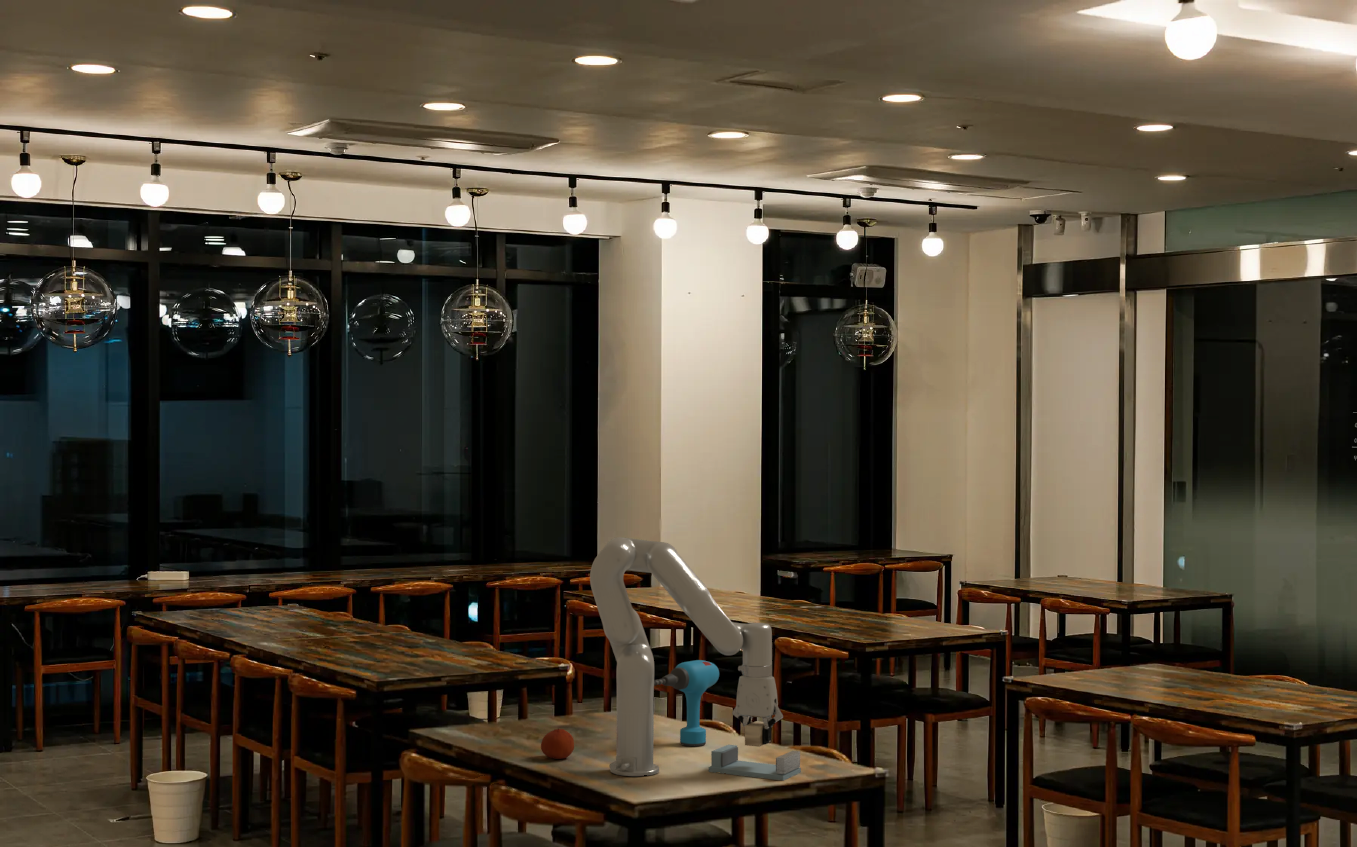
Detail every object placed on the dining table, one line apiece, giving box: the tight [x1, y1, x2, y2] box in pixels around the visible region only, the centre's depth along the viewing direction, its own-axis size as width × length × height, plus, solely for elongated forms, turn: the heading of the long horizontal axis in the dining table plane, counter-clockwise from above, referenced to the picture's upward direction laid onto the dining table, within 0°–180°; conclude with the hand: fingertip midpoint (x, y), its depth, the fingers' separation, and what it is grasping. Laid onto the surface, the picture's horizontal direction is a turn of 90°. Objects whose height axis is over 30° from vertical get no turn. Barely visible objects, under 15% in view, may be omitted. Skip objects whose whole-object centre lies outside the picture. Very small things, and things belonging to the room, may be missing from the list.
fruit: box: [540, 728, 575, 760], centre depth 424 cm, size 9×9×8 cm
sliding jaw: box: [775, 750, 801, 774], centre depth 405 cm, size 10×2×4 cm, turn 152°
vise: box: [708, 744, 802, 782], centre depth 409 cm, size 11×21×5 cm, turn 62°
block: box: [744, 721, 765, 748], centre depth 409 cm, size 7×4×5 cm, turn 152°
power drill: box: [654, 659, 720, 747], centre depth 440 cm, size 28×9×23 cm, turn 139°
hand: (757, 741), depth 409 cm, fingers closed on block, 4 cm apart
